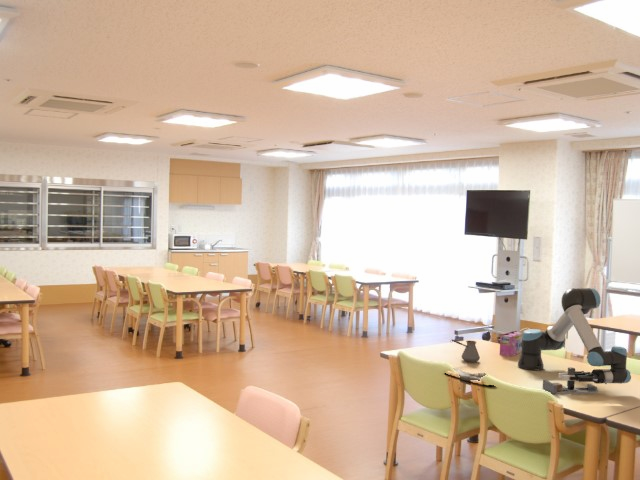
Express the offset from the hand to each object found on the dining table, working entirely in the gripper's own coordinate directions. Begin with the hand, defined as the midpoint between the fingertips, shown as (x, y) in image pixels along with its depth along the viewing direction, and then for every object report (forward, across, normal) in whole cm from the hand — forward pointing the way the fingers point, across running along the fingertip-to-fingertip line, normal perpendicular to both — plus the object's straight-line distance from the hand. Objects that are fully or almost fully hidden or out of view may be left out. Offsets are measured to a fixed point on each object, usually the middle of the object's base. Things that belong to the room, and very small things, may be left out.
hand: (561, 376), depth 316 cm
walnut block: (+2, 0, -8) cm, 8 cm away
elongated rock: (+39, +28, -10) cm, 49 cm away
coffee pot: (+26, +68, -9) cm, 74 cm away
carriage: (-4, 0, -7) cm, 9 cm away
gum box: (-18, +92, -9) cm, 94 cm away
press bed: (-6, 0, -9) cm, 11 cm away
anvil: (+6, 0, -8) cm, 10 cm away
